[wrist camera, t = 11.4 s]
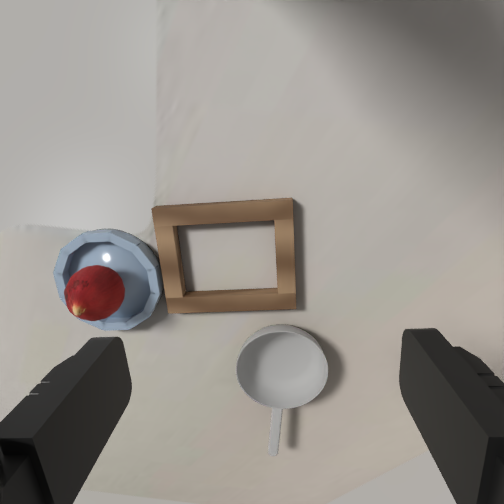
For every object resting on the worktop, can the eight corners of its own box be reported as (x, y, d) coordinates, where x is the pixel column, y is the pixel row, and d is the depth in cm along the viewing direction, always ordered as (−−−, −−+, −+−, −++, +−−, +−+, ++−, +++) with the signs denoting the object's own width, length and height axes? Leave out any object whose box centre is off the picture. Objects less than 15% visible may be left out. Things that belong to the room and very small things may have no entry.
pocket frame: (156, 205, 37) (151, 208, 36) (291, 197, 36) (292, 200, 34) (172, 307, 41) (168, 313, 39) (295, 302, 40) (296, 309, 38)
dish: (54, 231, 39) (43, 235, 37) (155, 225, 38) (149, 230, 36) (77, 323, 42) (68, 331, 40) (170, 320, 41) (165, 328, 40)
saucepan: (329, 319, 40) (334, 337, 37) (311, 435, 46) (314, 460, 42) (240, 312, 41) (237, 328, 37) (233, 428, 46) (230, 452, 43)
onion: (80, 285, 40) (34, 319, 32) (98, 246, 38) (55, 272, 31) (123, 309, 41) (89, 348, 33) (143, 272, 39) (112, 303, 31)
